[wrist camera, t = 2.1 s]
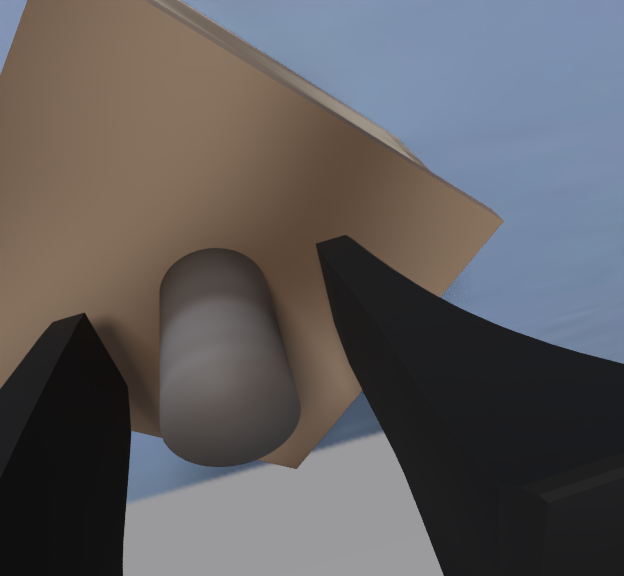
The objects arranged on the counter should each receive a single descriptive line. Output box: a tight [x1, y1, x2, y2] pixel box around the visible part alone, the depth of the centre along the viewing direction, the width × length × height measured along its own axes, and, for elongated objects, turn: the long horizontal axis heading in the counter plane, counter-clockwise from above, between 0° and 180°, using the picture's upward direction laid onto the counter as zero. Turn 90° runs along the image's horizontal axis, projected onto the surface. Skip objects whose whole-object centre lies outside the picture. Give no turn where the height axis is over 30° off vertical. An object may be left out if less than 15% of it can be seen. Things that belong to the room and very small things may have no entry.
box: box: [155, 0, 430, 171], centre depth 14 cm, size 9×8×5 cm
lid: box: [0, 0, 504, 469], centre depth 11 cm, size 10×9×5 cm
